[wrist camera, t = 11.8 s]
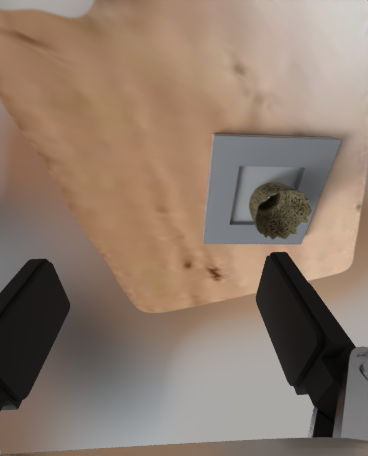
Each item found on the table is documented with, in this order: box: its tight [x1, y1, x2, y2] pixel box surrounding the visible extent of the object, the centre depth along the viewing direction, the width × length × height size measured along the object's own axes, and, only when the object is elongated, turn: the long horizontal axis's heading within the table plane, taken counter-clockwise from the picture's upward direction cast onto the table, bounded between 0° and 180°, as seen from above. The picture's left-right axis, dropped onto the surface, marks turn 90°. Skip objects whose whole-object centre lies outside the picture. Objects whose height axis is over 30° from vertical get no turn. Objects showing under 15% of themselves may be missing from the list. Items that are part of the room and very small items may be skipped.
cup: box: [249, 182, 312, 240], centre depth 32 cm, size 8×7×8 cm
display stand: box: [203, 133, 342, 244], centre depth 35 cm, size 18×18×2 cm
